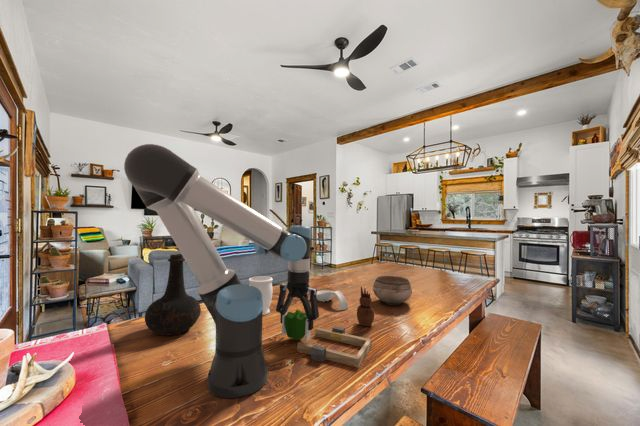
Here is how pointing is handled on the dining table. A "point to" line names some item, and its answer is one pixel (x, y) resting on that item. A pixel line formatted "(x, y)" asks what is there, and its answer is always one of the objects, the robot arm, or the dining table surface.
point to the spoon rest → (328, 295)
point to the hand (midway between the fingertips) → (296, 335)
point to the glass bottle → (173, 304)
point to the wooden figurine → (365, 309)
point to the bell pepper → (295, 324)
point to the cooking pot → (392, 289)
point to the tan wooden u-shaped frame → (329, 354)
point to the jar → (263, 290)
